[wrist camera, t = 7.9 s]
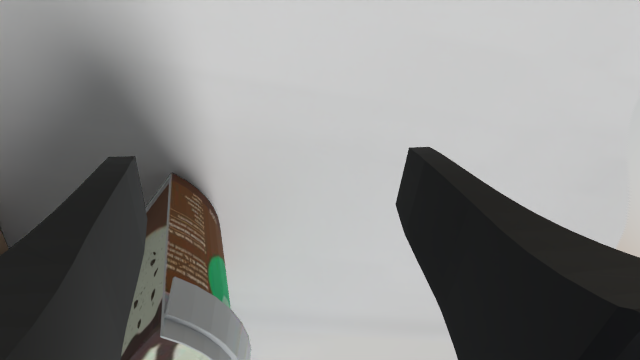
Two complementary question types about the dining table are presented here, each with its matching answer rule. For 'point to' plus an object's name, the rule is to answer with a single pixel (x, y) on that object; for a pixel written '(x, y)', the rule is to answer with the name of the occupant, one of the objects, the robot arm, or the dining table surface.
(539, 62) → the dining table surface
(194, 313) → the food container
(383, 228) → the dining table surface
